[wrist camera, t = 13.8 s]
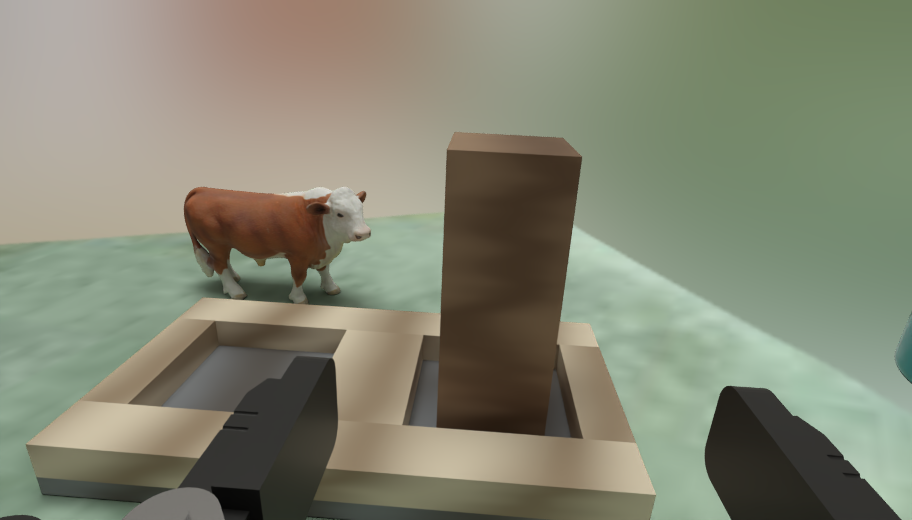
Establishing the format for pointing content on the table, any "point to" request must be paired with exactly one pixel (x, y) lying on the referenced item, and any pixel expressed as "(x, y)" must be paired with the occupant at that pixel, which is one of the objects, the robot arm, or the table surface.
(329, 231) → the bull figurine
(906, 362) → the cup
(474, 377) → the walnut block
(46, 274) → the table surface
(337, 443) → the puzzle board
